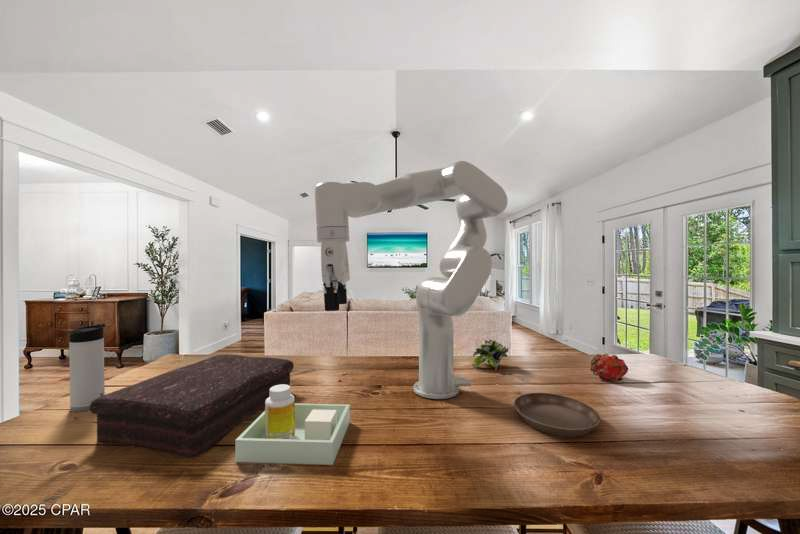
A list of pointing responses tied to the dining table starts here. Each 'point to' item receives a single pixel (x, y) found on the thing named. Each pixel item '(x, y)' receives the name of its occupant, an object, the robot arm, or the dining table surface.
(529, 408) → the plant saucer
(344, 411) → the pale green tray
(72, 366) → the travel mug
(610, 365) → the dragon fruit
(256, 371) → the folded brown towel
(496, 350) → the green leafy plant
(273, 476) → the dining table surface
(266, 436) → the supplement bottle
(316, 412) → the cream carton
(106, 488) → the dining table surface
